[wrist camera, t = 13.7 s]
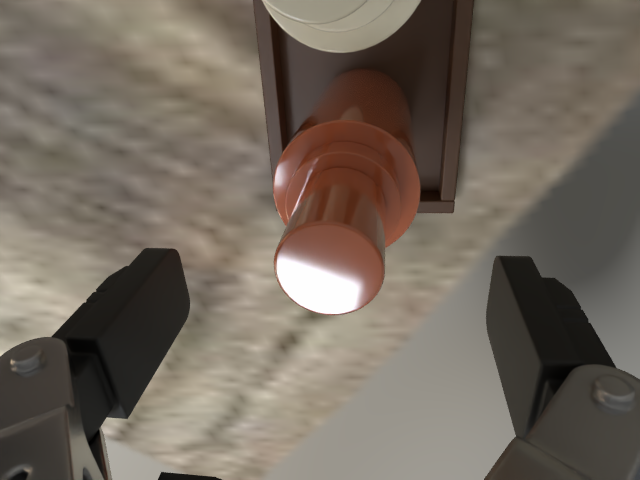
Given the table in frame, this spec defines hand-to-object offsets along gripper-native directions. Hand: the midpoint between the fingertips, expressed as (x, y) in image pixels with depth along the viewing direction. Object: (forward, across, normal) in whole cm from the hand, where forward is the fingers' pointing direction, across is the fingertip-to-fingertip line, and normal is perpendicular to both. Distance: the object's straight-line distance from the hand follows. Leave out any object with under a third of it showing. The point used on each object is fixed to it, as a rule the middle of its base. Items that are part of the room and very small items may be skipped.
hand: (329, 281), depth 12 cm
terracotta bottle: (+17, 0, 0) cm, 17 cm away
